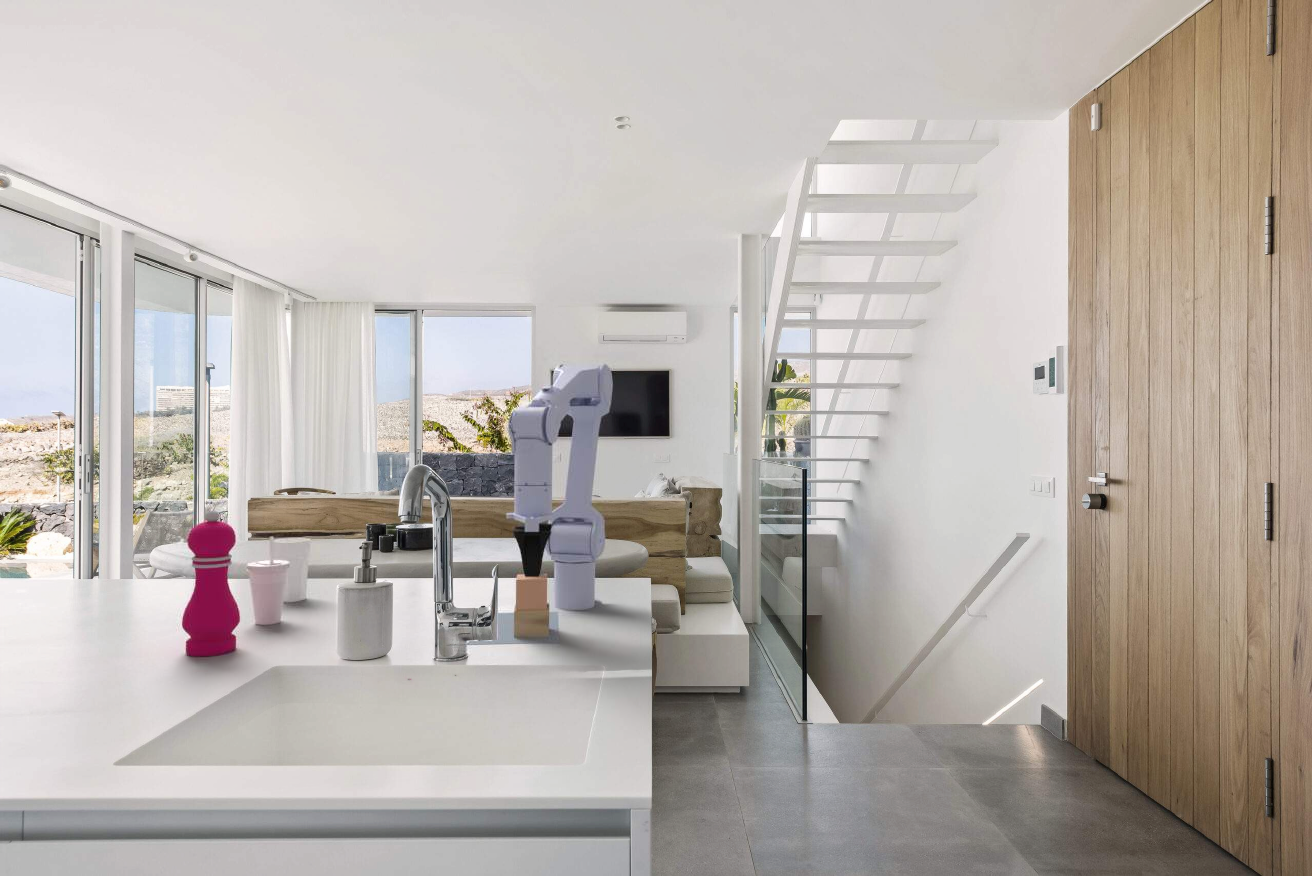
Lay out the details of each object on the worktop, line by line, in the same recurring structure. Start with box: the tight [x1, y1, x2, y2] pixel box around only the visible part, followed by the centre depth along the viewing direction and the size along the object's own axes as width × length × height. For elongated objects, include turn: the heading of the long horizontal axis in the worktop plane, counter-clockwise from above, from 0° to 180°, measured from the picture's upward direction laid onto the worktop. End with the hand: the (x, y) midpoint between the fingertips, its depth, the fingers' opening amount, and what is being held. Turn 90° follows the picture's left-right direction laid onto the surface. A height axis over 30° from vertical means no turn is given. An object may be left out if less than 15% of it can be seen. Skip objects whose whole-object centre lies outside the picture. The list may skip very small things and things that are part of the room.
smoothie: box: [246, 536, 290, 626], centre depth 131 cm, size 6×6×14 cm
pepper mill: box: [181, 509, 241, 658], centre depth 114 cm, size 7×7×20 cm
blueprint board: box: [466, 611, 560, 646], centre depth 126 cm, size 20×16×1 cm
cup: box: [273, 537, 311, 603], centre depth 149 cm, size 7×7×11 cm
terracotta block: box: [515, 573, 548, 610], centre depth 123 cm, size 5×5×5 cm
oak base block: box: [513, 602, 550, 638], centre depth 123 cm, size 5×5×4 cm
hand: (532, 573), depth 123 cm, fingers open, 4 cm apart
